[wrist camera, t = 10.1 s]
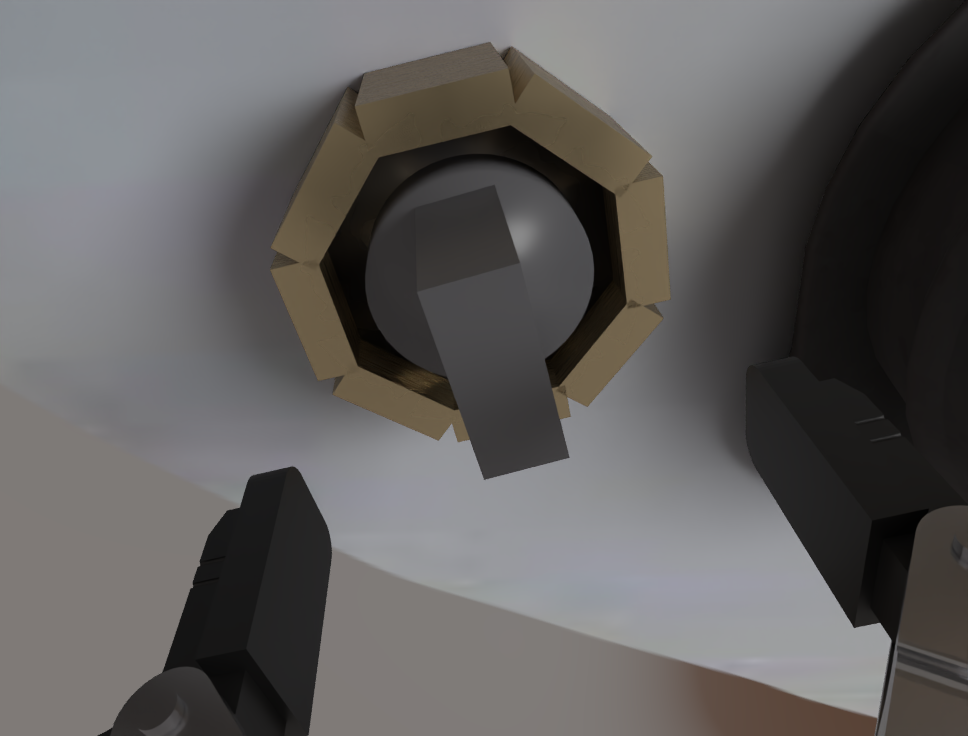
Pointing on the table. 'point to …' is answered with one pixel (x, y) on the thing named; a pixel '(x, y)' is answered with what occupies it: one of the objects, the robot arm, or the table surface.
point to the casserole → (900, 258)
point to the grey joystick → (484, 295)
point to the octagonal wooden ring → (446, 133)
